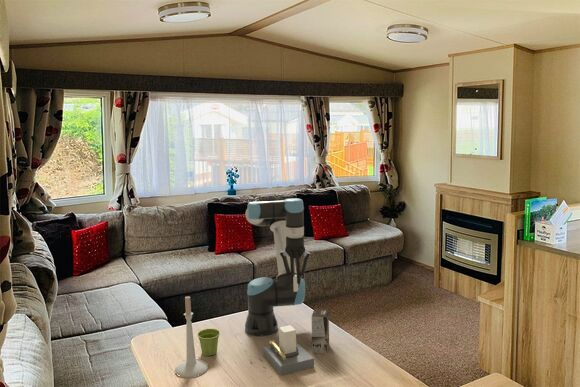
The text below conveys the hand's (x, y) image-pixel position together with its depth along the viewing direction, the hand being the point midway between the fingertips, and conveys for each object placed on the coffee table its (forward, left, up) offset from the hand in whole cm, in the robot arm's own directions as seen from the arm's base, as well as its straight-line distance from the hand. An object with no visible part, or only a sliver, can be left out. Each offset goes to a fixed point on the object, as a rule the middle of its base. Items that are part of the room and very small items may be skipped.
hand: (295, 290), depth 206 cm
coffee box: (+8, +7, -25) cm, 27 cm away
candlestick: (0, -46, -25) cm, 52 cm away
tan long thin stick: (+11, -14, -19) cm, 26 cm away
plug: (+12, -10, -24) cm, 28 cm away
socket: (+12, -10, -24) cm, 29 cm away
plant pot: (-10, -36, -25) cm, 44 cm away
